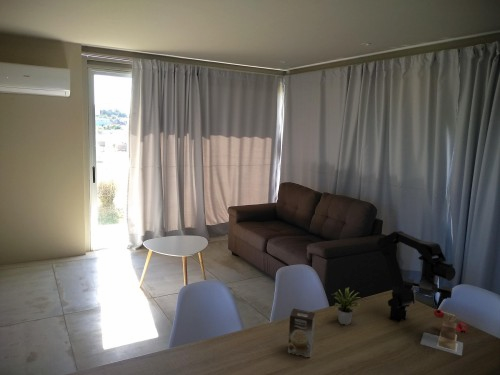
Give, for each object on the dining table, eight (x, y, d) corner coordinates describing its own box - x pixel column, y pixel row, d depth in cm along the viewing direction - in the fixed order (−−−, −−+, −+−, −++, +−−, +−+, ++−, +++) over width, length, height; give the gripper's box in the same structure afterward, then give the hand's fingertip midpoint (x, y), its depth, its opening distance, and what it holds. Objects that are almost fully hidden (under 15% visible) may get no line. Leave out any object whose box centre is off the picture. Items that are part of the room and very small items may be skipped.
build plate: (420, 345, 157) (420, 343, 157) (423, 334, 166) (424, 332, 166) (461, 358, 149) (461, 355, 149) (462, 345, 158) (463, 342, 158)
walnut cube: (440, 336, 155) (442, 325, 154) (441, 331, 159) (443, 320, 158) (454, 340, 152) (455, 328, 151) (455, 334, 156) (456, 323, 156)
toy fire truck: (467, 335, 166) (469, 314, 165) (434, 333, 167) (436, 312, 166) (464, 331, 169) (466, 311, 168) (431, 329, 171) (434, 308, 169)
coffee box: (287, 353, 149) (288, 315, 147) (290, 345, 155) (292, 308, 153) (310, 358, 146) (312, 319, 144) (313, 349, 152) (315, 312, 150)
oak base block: (438, 345, 155) (439, 336, 155) (439, 339, 160) (440, 330, 160) (455, 350, 152) (456, 341, 152) (456, 343, 157) (457, 334, 157)
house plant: (342, 334, 164) (344, 298, 162) (321, 319, 176) (323, 286, 174) (366, 326, 171) (368, 292, 169) (344, 313, 183) (346, 281, 181)
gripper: (402, 273, 160) (399, 308, 163) (451, 283, 151) (447, 320, 153) (406, 265, 170) (403, 298, 172) (454, 274, 160) (450, 309, 163)
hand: (425, 306), depth 165 cm, fingers open, 9 cm apart
